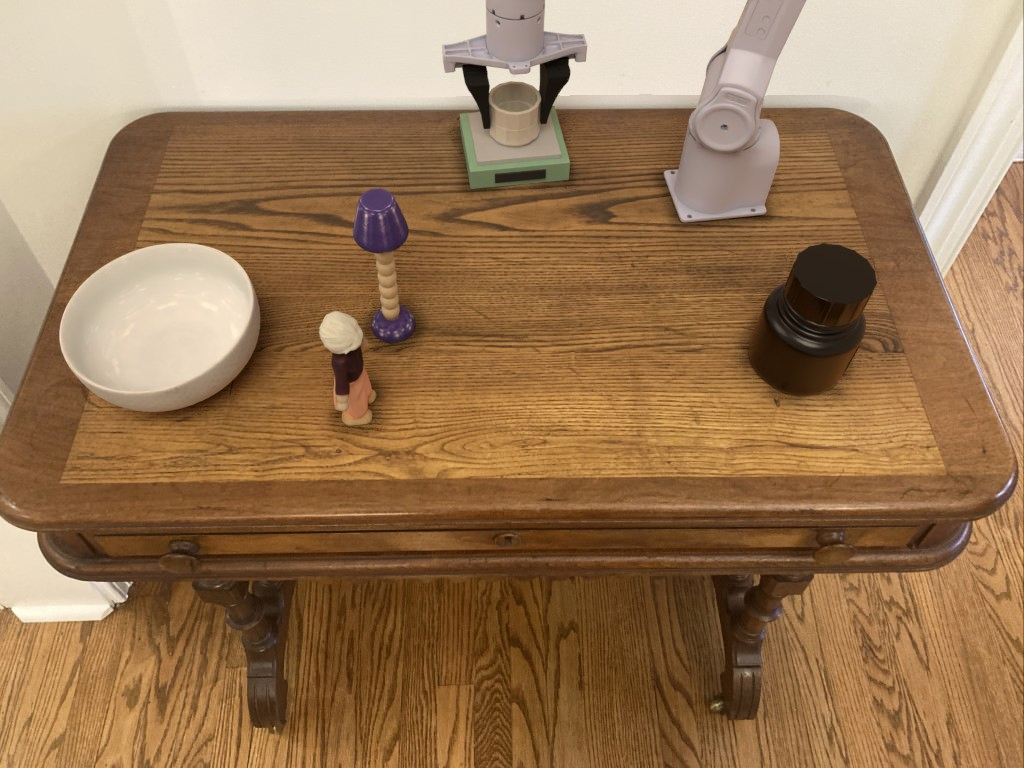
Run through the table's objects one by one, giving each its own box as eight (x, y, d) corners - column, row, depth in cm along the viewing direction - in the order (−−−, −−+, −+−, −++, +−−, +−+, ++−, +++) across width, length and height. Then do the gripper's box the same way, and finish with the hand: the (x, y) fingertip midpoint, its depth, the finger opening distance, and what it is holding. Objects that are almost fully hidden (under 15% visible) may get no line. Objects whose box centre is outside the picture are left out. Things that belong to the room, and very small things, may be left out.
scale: (553, 123, 101) (554, 100, 98) (569, 181, 95) (571, 159, 92) (460, 131, 100) (459, 108, 97) (470, 190, 94) (469, 168, 91)
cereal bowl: (110, 294, 85) (82, 244, 79) (280, 288, 85) (264, 237, 79) (69, 441, 75) (33, 395, 69) (261, 433, 75) (242, 386, 70)
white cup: (534, 114, 97) (536, 79, 93) (543, 147, 93) (545, 112, 90) (485, 118, 96) (484, 83, 92) (492, 151, 93) (492, 116, 89)
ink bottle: (865, 375, 80) (917, 289, 70) (795, 416, 77) (838, 333, 67) (793, 307, 84) (832, 217, 75) (725, 344, 82) (755, 256, 72)
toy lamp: (427, 317, 83) (413, 186, 70) (408, 353, 81) (390, 224, 67) (382, 304, 84) (359, 172, 70) (362, 339, 82) (334, 209, 68)
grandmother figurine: (337, 377, 79) (312, 285, 69) (379, 374, 79) (361, 282, 69) (334, 448, 75) (307, 361, 64) (379, 445, 75) (359, 358, 64)
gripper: (444, 33, 79) (451, 150, 90) (597, 21, 81) (586, 138, 92) (437, -9, 83) (444, 108, 94) (583, -19, 85) (573, 98, 96)
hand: (513, 120), depth 93 cm, fingers closed on white cup, 5 cm apart
